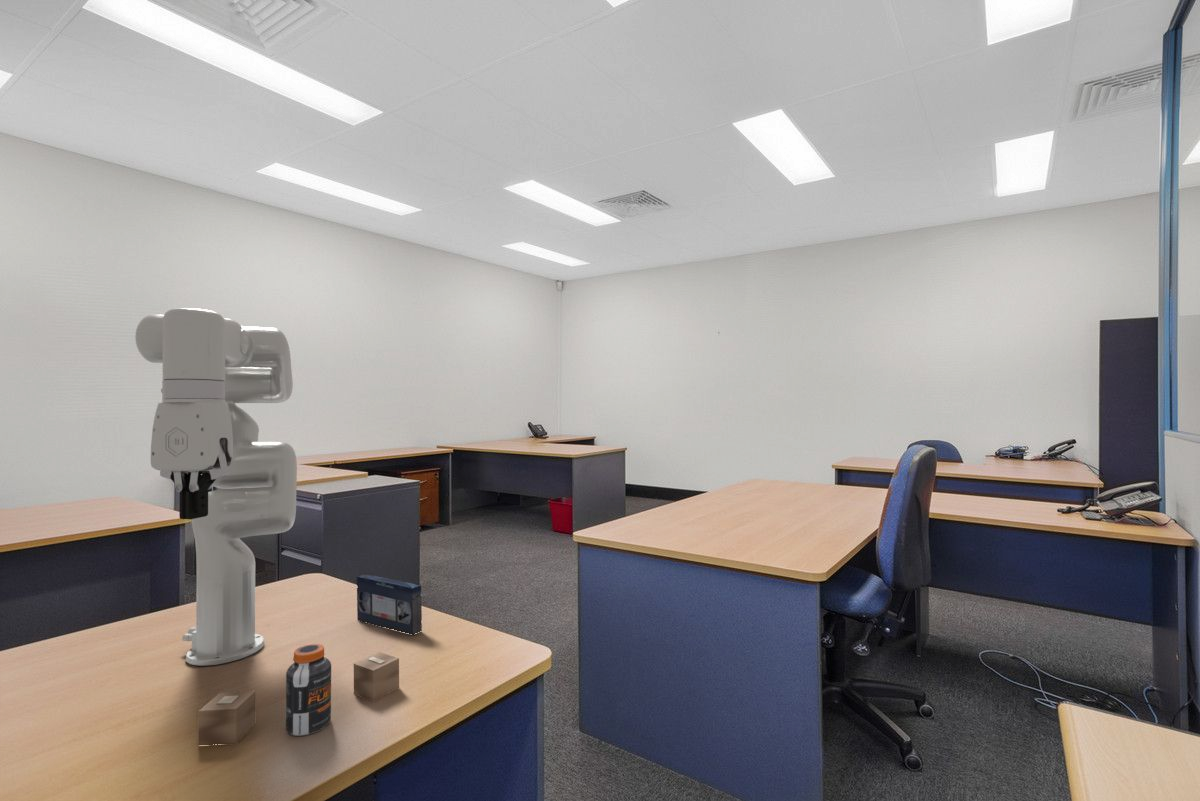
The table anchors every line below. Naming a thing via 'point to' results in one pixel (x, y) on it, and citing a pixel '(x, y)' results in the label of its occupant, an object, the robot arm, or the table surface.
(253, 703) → the marked cube one
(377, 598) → the vhs cassette tape
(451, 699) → the table surface
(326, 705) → the pill bottle
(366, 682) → the marked cube two
